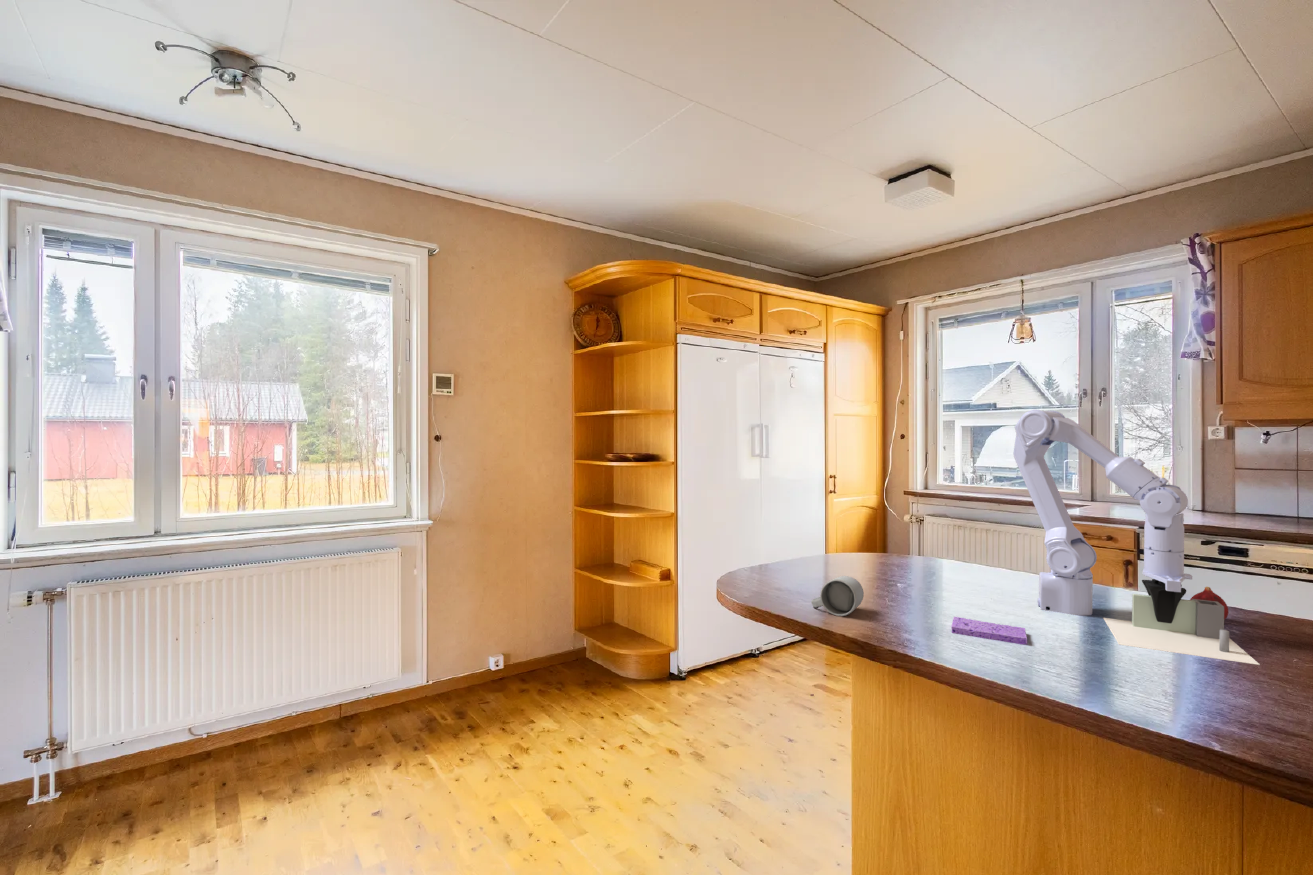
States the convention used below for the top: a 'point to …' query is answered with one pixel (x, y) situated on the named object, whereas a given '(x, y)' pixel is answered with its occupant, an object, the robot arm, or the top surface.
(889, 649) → the top surface
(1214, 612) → the door leaf
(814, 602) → the ceramic mug
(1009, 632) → the sponges
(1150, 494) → the robot arm
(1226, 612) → the onion
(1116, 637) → the board
